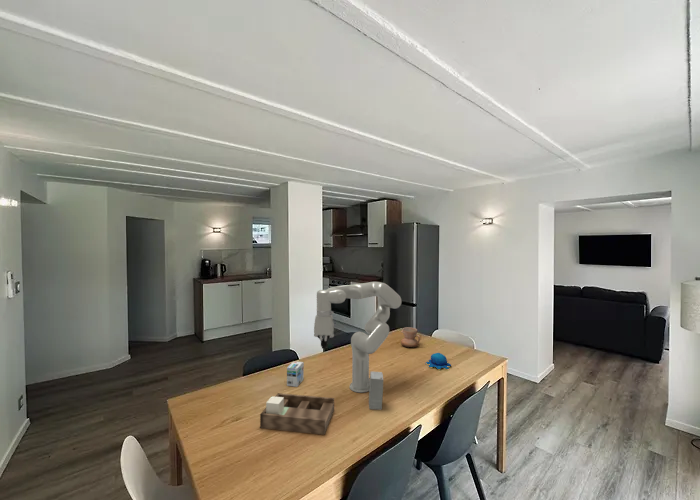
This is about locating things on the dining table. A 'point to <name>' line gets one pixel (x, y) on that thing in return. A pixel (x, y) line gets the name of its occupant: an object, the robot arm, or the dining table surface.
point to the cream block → (275, 405)
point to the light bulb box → (295, 373)
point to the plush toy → (438, 361)
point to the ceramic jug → (410, 337)
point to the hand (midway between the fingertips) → (324, 347)
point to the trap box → (300, 414)
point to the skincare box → (376, 390)
